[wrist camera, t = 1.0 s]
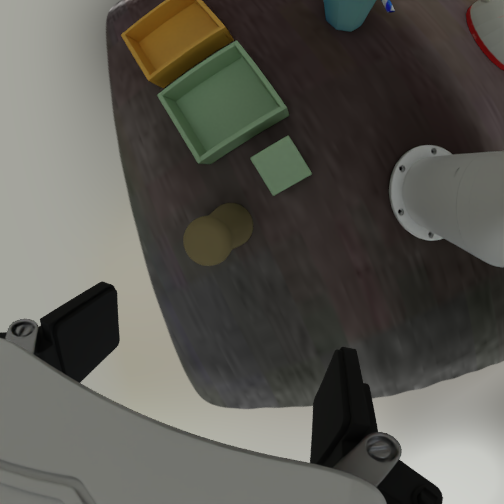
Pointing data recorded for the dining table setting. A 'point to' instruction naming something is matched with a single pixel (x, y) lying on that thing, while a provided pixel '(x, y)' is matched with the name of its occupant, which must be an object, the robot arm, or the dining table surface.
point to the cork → (217, 234)
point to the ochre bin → (175, 39)
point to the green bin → (222, 103)
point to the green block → (281, 165)
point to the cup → (350, 12)
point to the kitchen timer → (488, 28)
